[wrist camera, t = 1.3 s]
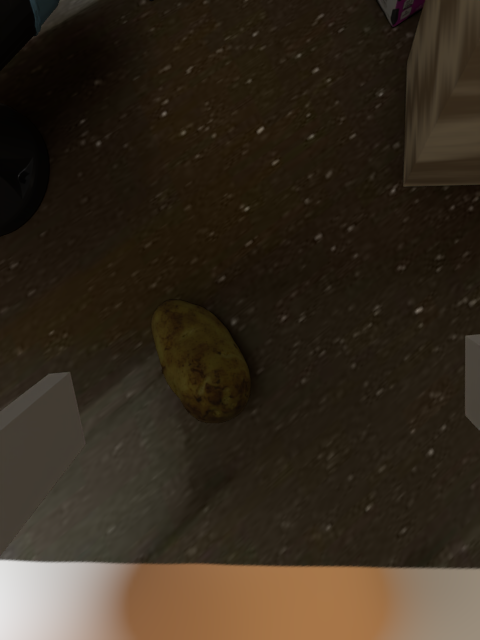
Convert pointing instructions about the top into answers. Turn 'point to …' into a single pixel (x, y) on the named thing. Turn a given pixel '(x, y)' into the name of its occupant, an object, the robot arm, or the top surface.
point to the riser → (444, 96)
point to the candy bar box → (400, 9)
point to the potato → (200, 361)
